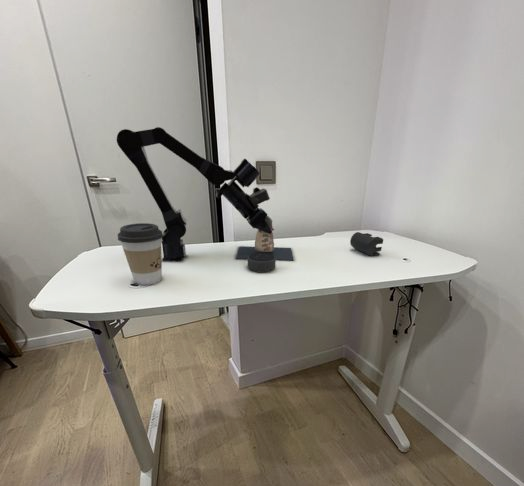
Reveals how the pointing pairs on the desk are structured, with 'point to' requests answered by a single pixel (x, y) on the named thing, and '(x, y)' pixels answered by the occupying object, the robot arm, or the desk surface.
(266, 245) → the figurine
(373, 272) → the desk surface
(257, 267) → the smart speaker
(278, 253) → the mat
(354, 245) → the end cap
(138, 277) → the coffee cup
